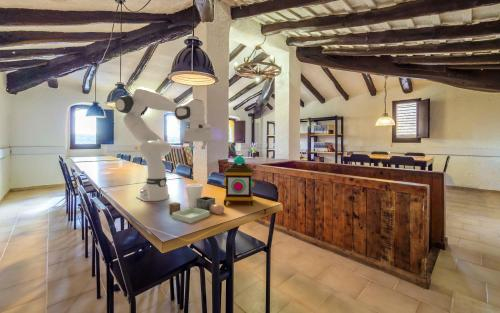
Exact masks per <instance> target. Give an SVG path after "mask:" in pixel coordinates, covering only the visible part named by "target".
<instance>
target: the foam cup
mask: <svg viewBox="0 0 500 313" xmlns="http://www.w3.org/2000/svg"><path fill="white" fill-rule="evenodd" d="M203 187H204V186H203V184H202V183H190V184H186V186H185V188H186V189H185V190H186V194H187V203H188V208H190V207H194V208H197V199H198V198H202V194H203Z"/></svg>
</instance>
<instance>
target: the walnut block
mask: <svg viewBox="0 0 500 313" xmlns="http://www.w3.org/2000/svg"><path fill="white" fill-rule="evenodd" d="M168 206H169V207H168V209H169V210H168V211H169V212H168V214H169V215H172V213H174V212H177V211H181V210H182V209H181V203H180V202H175V201H174V202H172V203H169V205H168Z"/></svg>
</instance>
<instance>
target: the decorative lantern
mask: <svg viewBox="0 0 500 313" xmlns="http://www.w3.org/2000/svg"><path fill="white" fill-rule="evenodd" d="M253 170H254V169H253V168H252V167H251V166H249V165H247V163H246V162H245V158H244V157H243V156H242V155H237V156H236V157H234V160H233V164H231V165H230V166H228V167H227V168H226V169H225V171H224V172H223V174H224V175H225V178H224V180H223V186H225V196H224V198H223V206H225V207H226V206H227V203H228V202H229V203H231V202H236V203H237V202H238V203H240V202H241V203H242V202H243V203H246V202H247V203H249V205H250V207H253V204H254V203H253V202H254V199H253V198H254V194H253V192H252V188H254V187H255V186H256V183H255V181H254V180H252V175H253Z"/></svg>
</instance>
